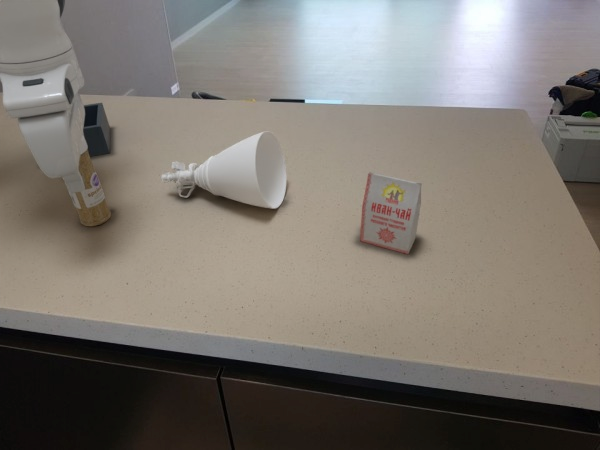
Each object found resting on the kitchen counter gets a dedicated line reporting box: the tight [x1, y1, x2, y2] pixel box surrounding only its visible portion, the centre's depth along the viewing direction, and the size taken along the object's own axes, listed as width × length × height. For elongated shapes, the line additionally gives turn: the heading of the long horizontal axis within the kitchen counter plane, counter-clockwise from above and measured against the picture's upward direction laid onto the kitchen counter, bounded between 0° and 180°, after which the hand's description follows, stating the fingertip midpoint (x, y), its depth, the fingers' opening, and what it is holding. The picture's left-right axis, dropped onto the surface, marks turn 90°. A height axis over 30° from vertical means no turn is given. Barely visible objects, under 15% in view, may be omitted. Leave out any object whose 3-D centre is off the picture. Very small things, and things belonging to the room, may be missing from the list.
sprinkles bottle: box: [63, 135, 112, 227], centre depth 65 cm, size 5×5×13 cm
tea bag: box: [359, 171, 422, 255], centre depth 60 cm, size 4×7×10 cm, turn 64°
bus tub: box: [83, 102, 111, 158], centre depth 87 cm, size 12×12×6 cm
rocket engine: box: [160, 130, 288, 210], centre depth 71 cm, size 12×12×18 cm
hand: (81, 172), depth 65 cm, fingers open, 8 cm apart
